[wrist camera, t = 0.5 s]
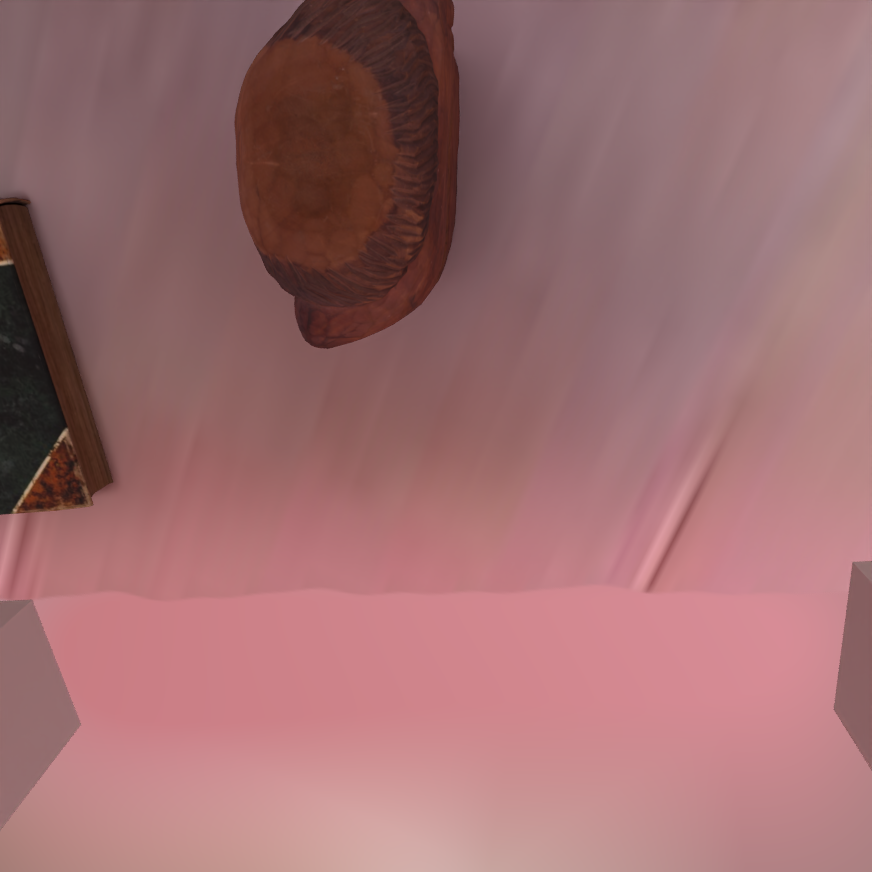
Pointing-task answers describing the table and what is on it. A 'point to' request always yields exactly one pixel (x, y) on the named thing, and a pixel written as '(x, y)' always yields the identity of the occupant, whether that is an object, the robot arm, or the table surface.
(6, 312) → the book
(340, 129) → the wooden figurine
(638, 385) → the table surface
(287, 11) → the table surface
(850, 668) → the robot arm
